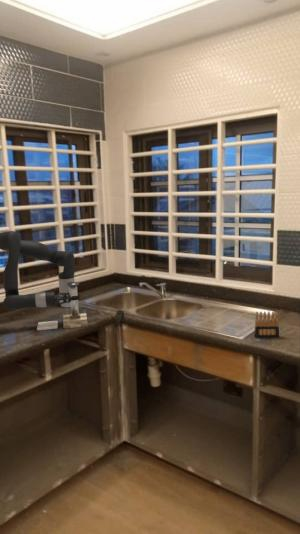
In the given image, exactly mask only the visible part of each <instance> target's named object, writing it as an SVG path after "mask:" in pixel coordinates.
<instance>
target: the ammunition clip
mask: <svg viewBox="0 0 300 534" xmlns="http://www.w3.org/2000/svg"><path fill="white" fill-rule="evenodd" d="M266 313H267V314H266ZM254 319H255V320H254V332H253V334H254V335H253V337H254V338H255V339H258V338H259V339H261V338H265V339H266V338H273V339H275V338H280V327H279V326H280V324H279V323H280V321H279V311H276V312H275V313H274V311H272V312H271V313H270V311H268V312H266V311H263V313H262V311H259V314H258V311H256V312H255V318H254Z"/></svg>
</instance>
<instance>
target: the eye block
mask: <svg viewBox="0 0 300 534" xmlns="http://www.w3.org/2000/svg"><path fill="white" fill-rule="evenodd" d="M62 324H63V325H62V326H63V327H62V328H63V329H73V328H83V327H88V325H89V324H88V317H87V313H86V312H83V313H82V312H81V313H79V315H77V316H72V315H71V313H70V314H63V315H62Z"/></svg>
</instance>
